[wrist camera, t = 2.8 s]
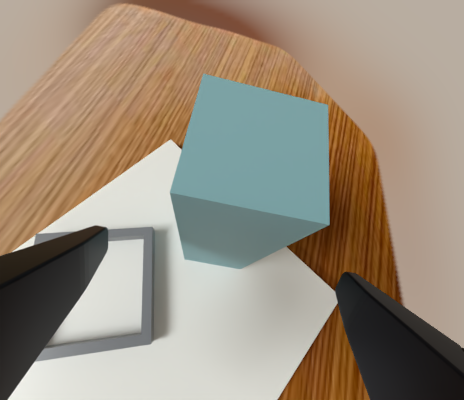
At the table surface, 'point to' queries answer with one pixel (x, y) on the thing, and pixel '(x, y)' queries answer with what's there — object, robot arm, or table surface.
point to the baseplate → (178, 309)
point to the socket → (147, 301)
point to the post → (250, 173)
